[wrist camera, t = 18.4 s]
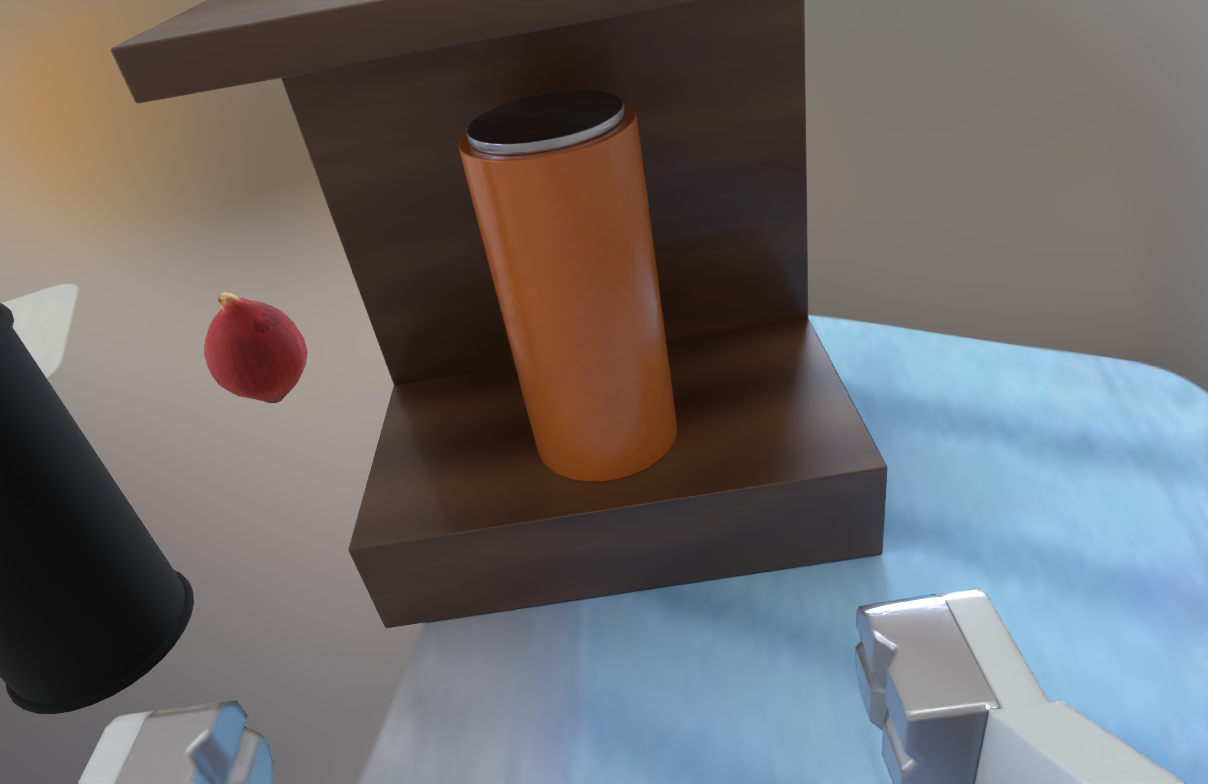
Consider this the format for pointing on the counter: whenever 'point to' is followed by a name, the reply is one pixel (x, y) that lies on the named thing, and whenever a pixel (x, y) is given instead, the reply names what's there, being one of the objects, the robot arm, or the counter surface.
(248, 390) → the onion
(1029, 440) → the counter surface
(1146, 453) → the counter surface
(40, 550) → the aerosol can
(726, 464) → the shelf
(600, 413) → the can
